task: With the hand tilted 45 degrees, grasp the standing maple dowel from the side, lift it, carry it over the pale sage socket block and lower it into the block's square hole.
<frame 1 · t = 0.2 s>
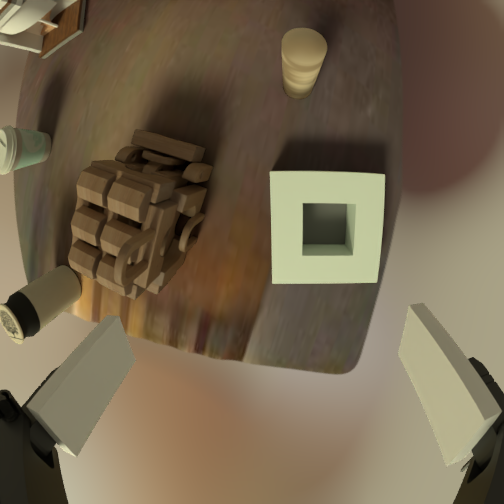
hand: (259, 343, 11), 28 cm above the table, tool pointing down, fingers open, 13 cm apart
coffee cup: (43, 147, 38), on the table
wooden puzzle: (158, 210, 39), on the table
travel mug: (69, 282, 46), on the table
dowel: (297, 86, 31), on the table
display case: (64, 28, 29), on the table
socket block: (323, 221, 37), on the table
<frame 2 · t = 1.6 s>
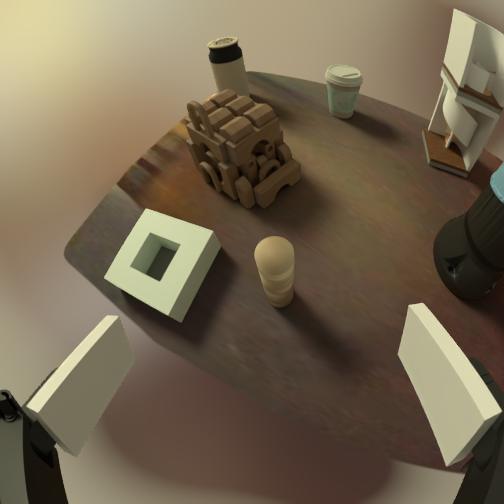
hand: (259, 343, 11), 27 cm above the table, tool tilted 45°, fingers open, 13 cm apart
coffee cup: (341, 112, 57), on the table
wooden puzzle: (241, 167, 53), on the table
travel mug: (235, 98, 65), on the table
dowel: (279, 294, 40), on the table
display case: (443, 154, 48), on the table
socket block: (167, 268, 44), on the table
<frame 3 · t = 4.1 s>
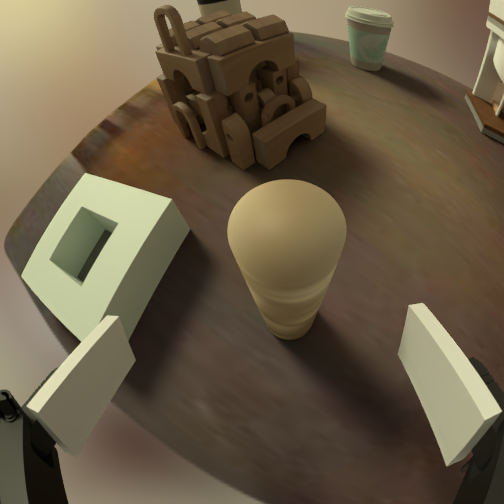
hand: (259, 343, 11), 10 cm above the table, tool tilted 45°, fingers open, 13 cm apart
coffee cup: (365, 65, 38), on the table
wooden puzzle: (236, 117, 34), on the table
travel mug: (230, 51, 46), on the table
dowel: (289, 315, 21), on the table
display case: (493, 124, 29), on the table
socket block: (108, 263, 26), on the table
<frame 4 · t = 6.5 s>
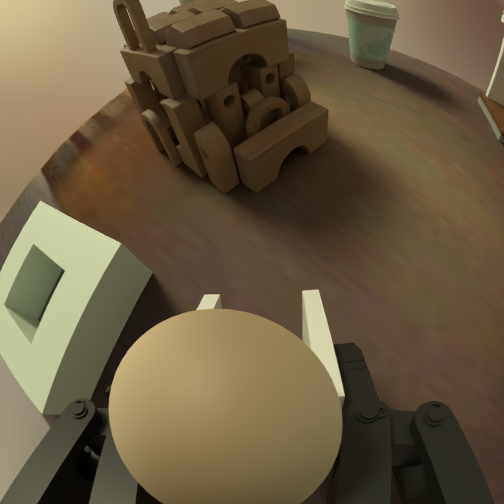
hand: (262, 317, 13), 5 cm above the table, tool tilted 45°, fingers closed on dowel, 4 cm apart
coffee cup: (367, 63, 33), on the table
wooden puzzle: (220, 125, 29), on the table
dowel: (270, 389, 16), on the table, touching gripper
socket block: (66, 308, 20), on the table
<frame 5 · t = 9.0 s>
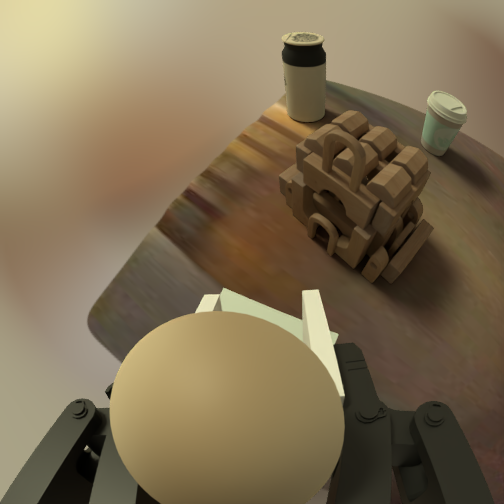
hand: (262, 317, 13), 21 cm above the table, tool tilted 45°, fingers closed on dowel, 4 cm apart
coffee cup: (432, 146, 43), on the table
wooden puzzle: (351, 217, 39), on the table
travel mug: (306, 113, 51), on the table
dowel: (270, 390, 16), point 16 cm above the table, touching gripper
socket block: (257, 369, 31), on the table
when the fingers open (7 cm above the table, at t = 12.0 s): dowel drops 2 cm, resting on socket block.
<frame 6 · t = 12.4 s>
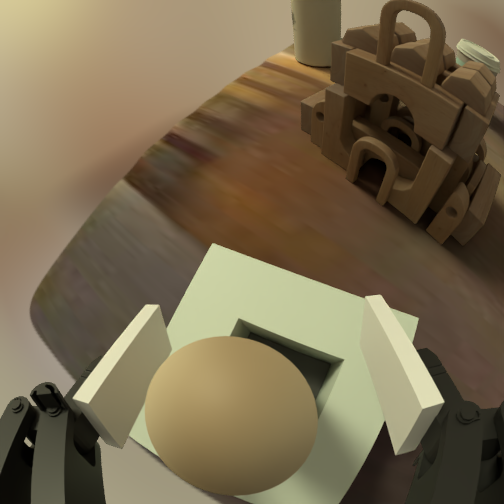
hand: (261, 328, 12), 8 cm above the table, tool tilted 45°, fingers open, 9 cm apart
coffee cup: (463, 102, 31), on the table
wooden puzzle: (399, 161, 26), on the table
travel mug: (317, 60, 38), on the table
dowel: (271, 389, 18), resting on socket block
socket block: (272, 388, 18), on the table
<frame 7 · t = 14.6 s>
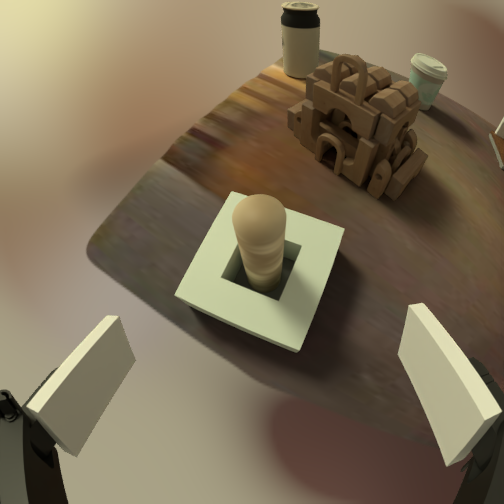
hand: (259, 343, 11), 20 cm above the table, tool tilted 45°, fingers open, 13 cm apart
coffee cup: (417, 103, 46), on the table
wooden puzzle: (353, 148, 41), on the table
travel mug: (300, 72, 52), on the table
dowel: (264, 276, 33), resting on socket block
socket block: (264, 276, 33), on the table
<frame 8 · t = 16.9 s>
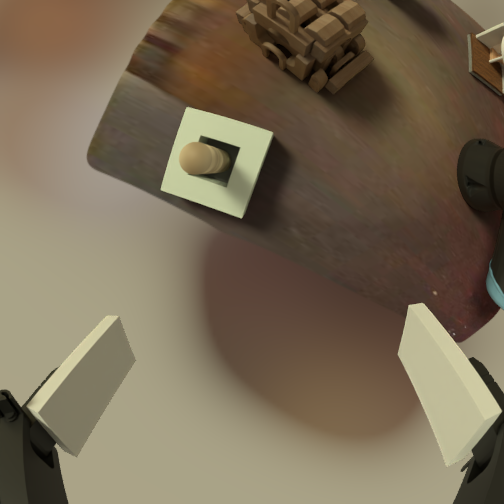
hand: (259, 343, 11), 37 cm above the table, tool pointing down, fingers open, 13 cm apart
wooden puzzle: (302, 40, 36), on the table
dowel: (219, 161, 44), resting on socket block
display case: (484, 64, 30), on the table
socket block: (220, 160, 44), on the table
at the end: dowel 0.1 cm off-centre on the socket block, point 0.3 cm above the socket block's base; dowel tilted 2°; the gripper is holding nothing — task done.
